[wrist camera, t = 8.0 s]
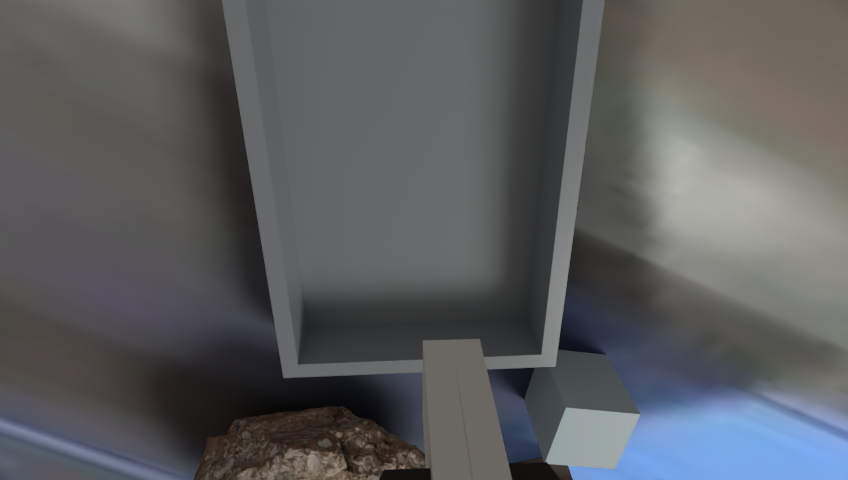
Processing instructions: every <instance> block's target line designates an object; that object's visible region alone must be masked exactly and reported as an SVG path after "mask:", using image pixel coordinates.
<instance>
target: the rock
mask: <svg viewBox="0 0 848 480" xmlns="http://www.w3.org/2000/svg"><path fill="white" fill-rule="evenodd" d="M206 443H207V444H206V447H205V449H204V452H203V454H202V457H201V460H200V466H199V468H198V470H197V472H196V474H195V477H194V480H379V479H380V477H381V475H382V473H383V471H384V470H392V469H418V468H426V464H425V455H424V454H423V453H422V452H421V451H420V450H419V449H418V448H417V447H416V446H415V445H409V444H406V442H405V441H403V440H401V439H400V438H399V436H397V435H394V434H390V433H388V432H387V431H385V430H384V428H383V427H382V426H378V425H377V424H376V423H375V422H374V421H372V420H369V419H363V418H358V417H357V416H355V415H354V414H352V413H351V411H350V410H349V409H347V408H345V407H343V406H339V407H335V406H327V407H321V408H311V409H306V410H302V411H287V412H278V413H274V414H268V415H261V416H252V417H241V418H240V419H235V420H234V421H233V423H232V424H231V426H230V428H229V429H228V431H227V433H226V435H214V436H211V437H209V438H207V441H206Z"/></svg>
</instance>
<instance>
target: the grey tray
mask: <svg viewBox="0 0 848 480" xmlns="http://www.w3.org/2000/svg"><path fill="white" fill-rule="evenodd" d="M604 3H605V0H222V5H223V11H224V17H225V23H226V30H227V36H228V42H229V48H230V54H231V60H232V66H233V72H234V79H235V85H236V91H237V97H238V103H239V109H240V115H241V121H242V128H243V134H244V140H245V146H246V152H247V158H248V164H249V170H250V177H251V183H252V189H253V195H254V201H255V207H256V213H257V219H258V226H259V232H260V238H261V244H262V250H263V256H264V262H265V268H266V275H267V281H268V287H269V293H270V299H271V305H272V311H273V317H274V324H275V330H276V336H277V342H278V348H279V354H280V360H281V366H282V373H283V378H298V377H322V376H345V375H369V374H393V373H417V372H423V340H456V339H480V343H481V347H482V351H483V356H484V360H485V364H486V369H487V370H488V369H512V368H536V367H556V360H557V352H558V345H559V337H560V330H561V322H562V315H563V308H564V300H565V293H566V285H567V278H568V270H569V263H570V256H571V248H572V241H573V233H574V226H575V218H576V211H577V204H578V196H579V189H580V181H581V174H582V166H583V159H584V151H585V144H586V137H587V129H588V122H589V114H590V107H591V99H592V92H593V85H594V77H595V70H596V62H597V55H598V47H599V40H600V33H601V25H602V18H603V10H604Z"/></svg>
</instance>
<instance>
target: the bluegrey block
mask: <svg viewBox="0 0 848 480" xmlns="http://www.w3.org/2000/svg"><path fill="white" fill-rule="evenodd" d="M524 401H525V404H526V407H527V410H528V413H529V417H530V420H531V423H532V426H533V429H534V432H535V435H536V438H537V442H538V445H539V448H540V451H541V454H542V457H543V460H544V462H547V463H548V464H554V465H567V466H580V467H593V468H607V469H615V468H616V466H617V464H618V461H619V459H620V457H621V455H622V453H623V451H624V449H625V446H626V444H627V442H628V440H629V438H630V436H631V434H632V431H633V429H634V427H635V425H636V423H637V421H638V419H639V416H640V413H639V411H638V409H637V407H636V406H635V404H634V402H633V401H632V399H631V397H630V395H629V394H628V392H627V390H626V388H625V387H624V385H623V383H622V382H621V380H620V378H619V376H618V375H617V373H616V371H615V369H614V368H613V366H612V364H611V363H610V361H609V359H608V357H607V356H606V355H604V354H595V353H586V352H576V351H567V350H558V352H557V360H556V367H536V368H534V371H533V374H532V377H531V380H530V383H529V386H528V389H527V392H526V395H525V398H524Z"/></svg>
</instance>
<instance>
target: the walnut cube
mask: <svg viewBox="0 0 848 480" xmlns="http://www.w3.org/2000/svg"><path fill="white" fill-rule="evenodd" d="M537 462H544V460H543V457H540V458H536V459H532V460H527V461H523V462H519V463H537ZM549 465H550V467H551V468H552V469H553V470H554V472H555V473H556V474H557V475H558V477H559V478H560V479H561V480H573V479H572V477H571V474H570V471H569V468H568V466H567V465H554V464H549Z"/></svg>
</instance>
